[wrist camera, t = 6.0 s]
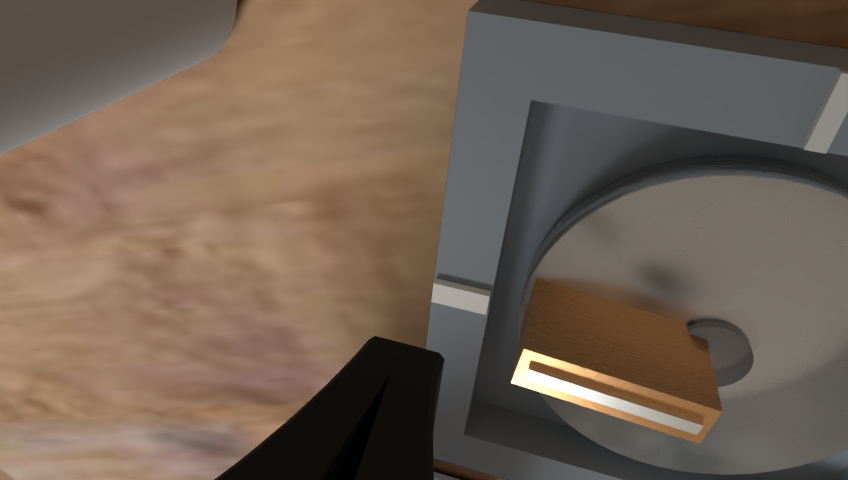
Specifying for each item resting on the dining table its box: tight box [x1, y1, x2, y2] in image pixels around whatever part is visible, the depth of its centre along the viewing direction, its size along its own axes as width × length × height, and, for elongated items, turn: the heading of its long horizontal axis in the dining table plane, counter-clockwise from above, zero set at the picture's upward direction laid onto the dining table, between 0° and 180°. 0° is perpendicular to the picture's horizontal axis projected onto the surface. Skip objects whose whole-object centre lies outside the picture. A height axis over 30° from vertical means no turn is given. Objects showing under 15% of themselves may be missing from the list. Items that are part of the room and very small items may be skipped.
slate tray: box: [425, 0, 848, 480], centre depth 19 cm, size 18×18×3 cm
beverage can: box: [0, 0, 237, 155], centre depth 14 cm, size 5×5×12 cm
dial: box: [511, 156, 848, 475], centre depth 17 cm, size 12×12×5 cm
